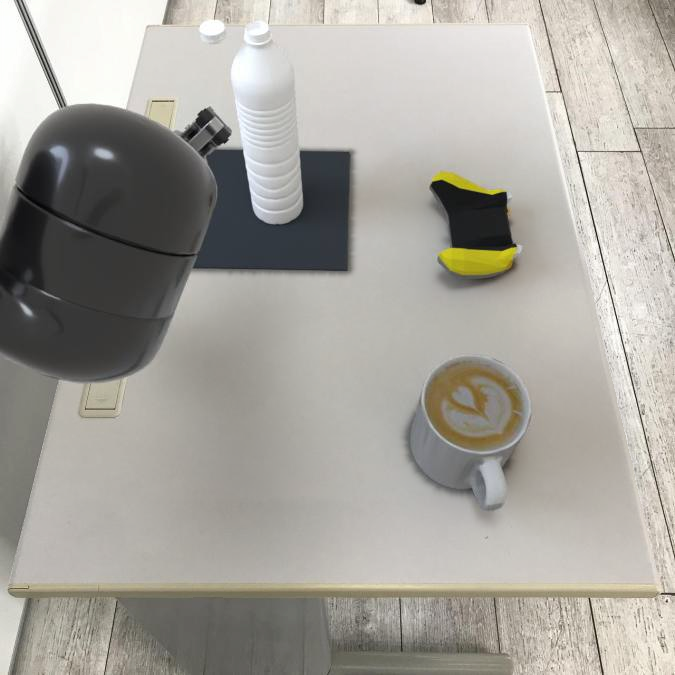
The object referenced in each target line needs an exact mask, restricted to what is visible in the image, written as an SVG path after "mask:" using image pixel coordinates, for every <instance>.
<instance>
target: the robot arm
mask: <svg viewBox="0 0 675 675" xmlns="http://www.w3.org/2000/svg"><path fill="white" fill-rule="evenodd" d="M196 116H197V117H196V118H195V119H194V120H193V121H192V122H191V124H190V123H188V124H187V125H186V126H185V127H184V129H185V130H184V131H180V130H178V129H175V130H172V129H170V128H168V127H167V126H165V125H163V124H162V123H160V122H158V121H156V120H153V119H152V118H150V117H148V116H145V115H143V114H141V113H138V112H136V111H133V110H130V109H126V108H123V107H120V106H114V105H109V104H102V103H91V102H90V103H89V102H88V103H75V104H70V105H67V106H63V107H60V108H58V109H56V110H54V111H53V112H52V113H50V114H49V115H47V117H46V118H45V119H44V120H42V121H41V122H40V124H39V125H38V126H37V127H36V129H35V130H34V132H33V133H32V135H31V137H30V139H29V140H28V142H27V144H26V147H25V149H24V152H23V155H22V158H21V159H20V164H19V167H18V170H17V172H16V175H15V180H14V181H15V183H14V185H13V186H12V190H11V191H10V192H11V193H10V196H9V198H8V202H7V205H6V209H5V211H4V214H3V217H2V220H1V223H0V357H2V358H3V359H5V360H8V361H10V362H12V363H13V364H15V365H18V366H20V367H23V368H25V369H27V370H30V371H32V372H34V373H37V374H39V375H41V376H44V377H47V378H51V379H55V380H58V381H63V382H67V383H72V384H83V385H84V384H85V385H86V384H87V385H90V384H91V385H92V384H105V383H109V382H110V383H111V382H114V381H119V380H123V379H126V378H128V377H131V376H133V375H135V374H138V372H140V371H142V370H144V369H146V367H148V366H149V365H150V364H151V363H152V361H153V360H155V358H156V356H157V354H158V353H159V351H160V350H161V347H162V345H163V343H164V340H165V338H166V335H167V333H168V331H169V329H170V326H171V323H172V321H173V319H174V316H175V313H176V310H177V307H178V304H179V302H180V300H181V297H182V295H183V292H184V290H185V288H186V286H187V282H188V280H189V278H190V275H191V274H192V270H193V269H194V268H193V265H194V263H195V260H196V258H197V256H198V255H197V252H198V251H199V250H200V248H201V245H202V243H203V240H204V238H205V235H206V233H207V230H208V227H209V225H210V222H211V219H212V216H213V213H214V209H215V205H216V200H217V185H216V180H215V177H214V175H213V173H212V171H211V169H210V168H209V166H208V165H207V164H208V162H207V160H206V156H207V155H208V154H209V155H210V154H211V153H212V152H213V151H214V150H213V149H217V148H218V147H220V146H222V145H226V143H228V141H230V139H229V138H230V137H231V136H232V132H233V130H232V128H230V126H229V125H227V124H226V123H225V122H224V121H223V119H222V118H220V116H219V115H218V114H217V113H216V112H215V110H214V109H213V107H211V106H207V107H205V108H203V109H201V110H200V111H199V112H198V113H197V114H196Z"/></svg>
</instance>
